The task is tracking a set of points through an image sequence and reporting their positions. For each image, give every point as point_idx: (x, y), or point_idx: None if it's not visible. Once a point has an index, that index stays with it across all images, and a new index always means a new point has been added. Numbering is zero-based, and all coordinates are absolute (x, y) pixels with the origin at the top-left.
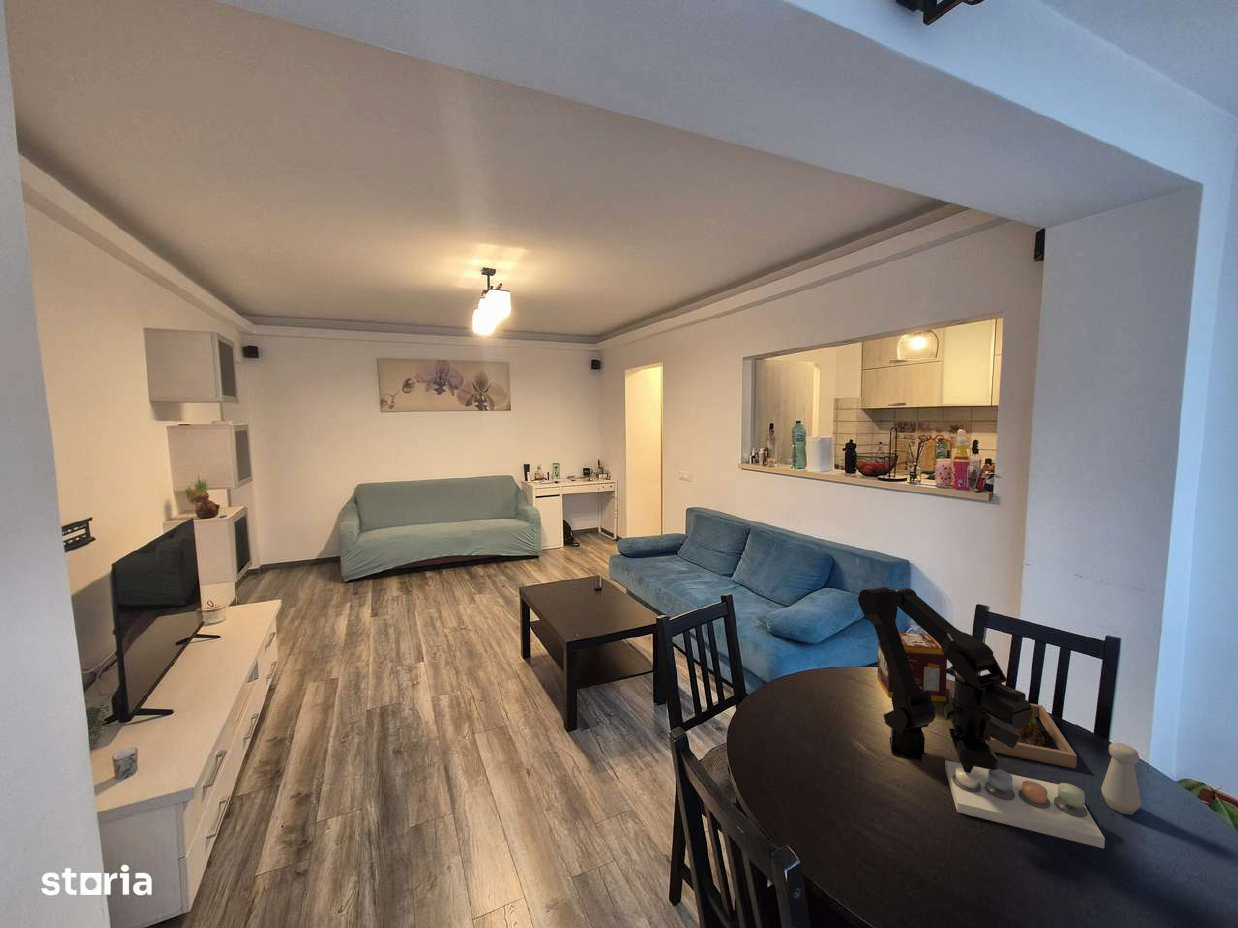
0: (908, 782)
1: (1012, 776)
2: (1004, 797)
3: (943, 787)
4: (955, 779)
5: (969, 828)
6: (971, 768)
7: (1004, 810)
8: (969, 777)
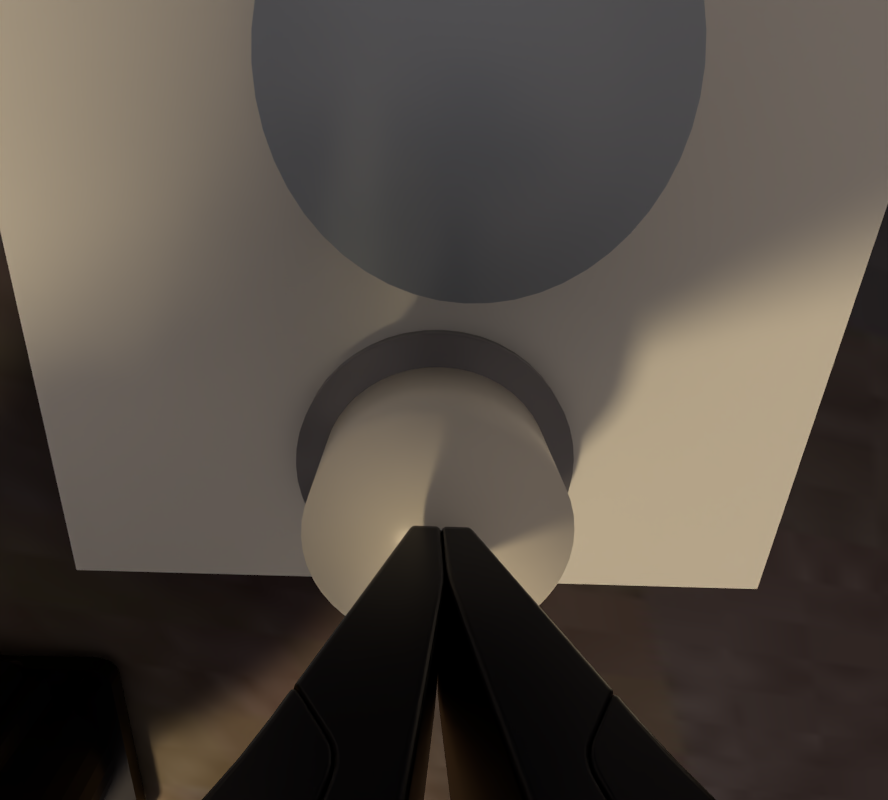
0: None
1: None
2: None
3: None
4: None
5: (885, 489)
6: (511, 585)
7: (828, 179)
8: (537, 532)
